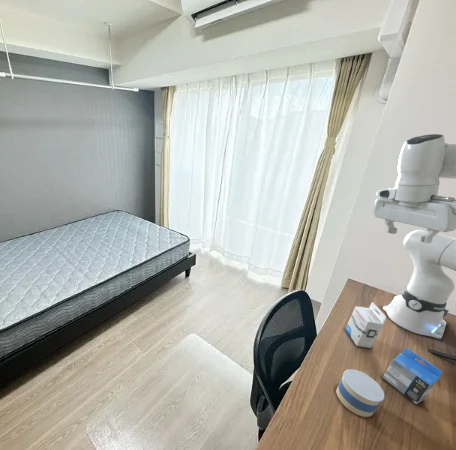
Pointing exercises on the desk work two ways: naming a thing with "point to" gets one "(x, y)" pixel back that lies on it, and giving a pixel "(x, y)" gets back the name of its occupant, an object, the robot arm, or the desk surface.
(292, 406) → the desk surface
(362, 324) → the ink box
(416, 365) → the label tape box
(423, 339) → the desk surface
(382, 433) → the desk surface
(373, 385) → the yogurt tub
